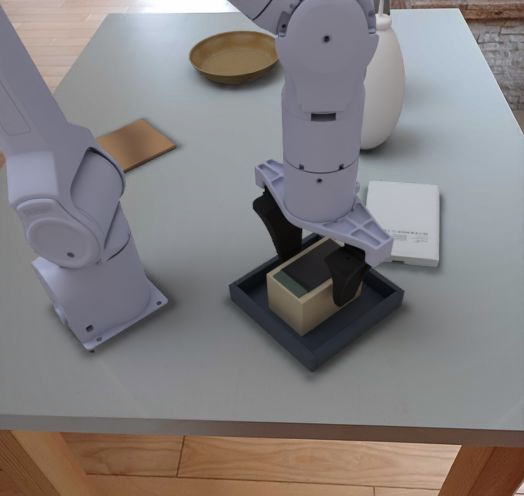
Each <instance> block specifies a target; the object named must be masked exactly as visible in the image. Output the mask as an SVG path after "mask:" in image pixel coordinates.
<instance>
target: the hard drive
mask: <svg viewBox="0 0 524 496" xmlns="http://www.w3.org/2000/svg"><path fill="white" fill-rule="evenodd" d="M440 204H441V203H440V186H439V185H436V184H426V183H415V182H414V183H412V182H401V181H387V180H386V181H385V180H369V181H368V187H367V194H366V201H365V207H366V208H367V209H368V210H369V212H370V213H371V214H372V216H373V217H374V218H375V220H376V221H377V222H378V224H379V225H380V226H381V227H382V228H383V229H384V230H385V231H386V232H387V233H388V234H390V235H391V236H393V237H394V242H393V247H392V252H391V256H390V257H388V258H387V259H386V260H384V261H383V262H382V263H397V264H404V265H412V266H423V267H432V268H438V266H439V263H440V206H441V205H440Z"/></svg>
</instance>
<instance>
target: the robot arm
mask: <svg viewBox="0 0 524 496" xmlns="http://www.w3.org/2000/svg"><path fill="white" fill-rule="evenodd" d="M226 1H227V2H228V3H230V4H231V5H232V6H233V7H235V8H236V9H237V10H238V11H239V12H240V13H241V14H242V15H244V16H245V17H246V18H247V19H248V20H250V21H251V23H253V24H254V25H255V26H257V27H258V28H260V29H262V30H265V31H267V32H269V33H271V34H272V35H273V36H274V37H275V38H276V39H275V48H276V52H277V55H278V58H279V60H278V62H279V63H280V65H281V66H282V68H283V69H284V83H283V86H282V89H281V93H280V94H281V97H280V98H281V130H282V131H281V132H282V133H281V134H282V162H280V161H278V160H276V159H275V158H274V157H269V158H267V159H265V160H264V161H261V162H260V163H259V164H257V165H254V166H253V167H254V179H255V181H254V182H255V185H256V186H257V187H258V188H260V189H262V190H264V191H262V194H261V195H259V196H257V197H256V198H255V199H254V200H253V201H252V203H251V204H252V210H253V211H254V212H255V214H257V217H259V219H260V220H261V221H262V223H263V225H264V226H265V228H266V230H267V232H268V234H269V236H270V239H271V241H272V243H273V246H274V249H275V252H276V255H278V257H279V259H280V261H281V262H282V263H285V262H286V261H288V260H290V259H291V258H293V257H294V256H296V255H298V254H299V253H300V251H301V246H302V239H303V230H306V231H309V232H311V233H313V232H314V233H317V234H320V235H323V236H326V237H329V238H332V239H335V240H337V241H338V242H340V243H343V245H344V246H343V247H342V246H341V247H340V248H338V249H337V250H335V251H334V252H332V253H331V254H329V255H328V256H326V257H325V258H324V261H325V263H326V264H327V266H328V268H329V270H330V273H331V276H332V282H333V301H334V304H335V305H336V306H338V307H342V306H343V305H345V304H346V303H347V302H349V301H350V300H352V299H353V298H354V297H355V295H356V292H357V290H358V288H359V286H360V284H361V282H362V280H363V279H364V277H365V276H366V274H367V273H368V271H369V270H370V269H371V267H372V268H375V267H377V266H378V265H380V264H382V263H384V262H383V261H384V260H386V259H387V258H388V257H390V256H391V252H392V247H393V242H394V237H393V236H391V235H390V234H388V233H387V232H386V231H385V230H384V229H383V228H382V227H381V226H380V225H379V224H378V222H377V221H376V220H375V218H374V217H373V216H372V214H371V213H370V212H369V210H368V209H367V208H366V204H364V202H363V201H362V200H361V199H360V197H359V196H358V195H357V194H358V193H360V191H361V190H360V189H361V183H360V181H358V179H357V178H358V170H359V160H360V151H361V149H360V143H361V133H362V123H363V113H364V104H365V95H366V93H365V87H364V84H363V83H364V80H365V77H366V73H367V66H368V65H369V63H370V62H371V60H372V58H373V56H374V54H375V52H376V49H377V46H378V42H379V35H378V34H377V33H376V14H375V8H374V2H373V0H226ZM0 152H1V153H2V155H3V156H4V158H5V163H6V180H7V199H8V204H9V206H10V207H11V208H12V210H13V211H14V212H15V214H16V215H17V217H18V219H19V221H20V223H21V227H22V233H23V236H24V239H25V241H26V242H27V244H28V245H29V247H30V248H31V249H32V250H33V251H34V252H35V253H36V254H37V255H39V256H38V257H36V258H35V259H34V260H32V261H31V262H30V266H31V268H32V270H33V272H34V274H35V276H36V278H37V279H38V281H39V283H40V284H41V286H42V288H43V289H44V291H45V293H46V295H47V296H48V298H49V300H50V302H51V303H52V306H53V308H54V312H55V314H56V315H57V317H58V318H59V320H60V321H61V322H62V324H63V325H64V326H68V328H69V329H70V331H71V332H72V333H73V334H74V335H75V336H76V338H77V339H78V340H79V342H80V343H81V344H82V345H83V347H84V348H85V349H86V351H88V352H92V351H95V350H94V349H95V348H97V347H98V346H100V345H101V344H103V343H105V342H107V341H108V340H110V339H111V338H114V337H115V336H116V335H118V334H120V333H122V332H123V331H125V330H126V329H128V328H130V327H131V326H132V325H134V324H136V323H138V322H139V321H141V320H143V319H144V318H146V317H148V316H149V315H151V314H153V313H154V312H156V311H158V310H159V309H162V308H163V307H165V306H166V305H167V304H168V303H169V299H168V298H167V297H166V295H165V294H163V293H162V292H161V291H160V290H159V289H158V287H156V285H154V284H153V282H151V281H150V279H149V278H147V275H146V272H145V269H144V266H143V263H142V259H141V257H140V254H139V251H138V247H137V244H136V242H135V239H134V236H133V233H132V230H131V227H130V224H129V221H128V219H127V217H126V215H125V213H124V210H123V207H122V203H121V201H120V200H121V198H122V196H123V195H124V193H125V191H126V187H127V185H126V184H127V180H126V175H125V172H123V170H122V168H121V166H120V165H119V163H118V162H117V161H116V160H115V159H114V158H113V157H112V156H111V155H110V154H109V153H107V152H106V151H105V150H104V149H103V148H102V147H101V146H100V145H99V144H98V143H97V141H96V138H95V137H94V135H93V133H92V131H91V129H90V128H88V127H87V126H85V125H82V124H81V125H80V124H77V123H73V122H70V121H68V119H67V117H66V116H65V113H64V112H63V110H62V109H61V107H60V105H59V103H58V102H57V100H56V97H54V94H53V93H52V91H51V90H50V87H49V86H48V85H47V83H46V81H45V79H44V78H43V76H42V74H41V72H40V70H39V68H38V67H37V65H36V63H35V62H34V60H33V58H32V57H31V55H30V53H29V51H28V50H27V48H26V46H25V44H24V43H23V42H22V39H21V37H20V36H19V34H18V33H17V30H16V29H15V27H14V25H13V24H12V21H11V20H10V19H9V17H8V15H7V13H6V12H5V9H4V8H3V7H2V5H1V4H0ZM158 303H160V304H158ZM98 339H101V340H98Z"/></svg>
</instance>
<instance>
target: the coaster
mask: <svg viewBox="0 0 524 496" xmlns="http://www.w3.org/2000/svg"><path fill="white" fill-rule="evenodd" d="M95 140H96V141H97V143H98V144H99V145H100V146H101V147H102V148H103V149H104V150H105V151H106V152H107V153H109V154H110V155H111V156H112V157H113V158H114V159H115V160H116V161H117V162H118V163H119V165H120V166H121V168H122V170H123V172H124V173H126V172H128V171H131V170H133V169H135V168H136V167H139V166H141V165H143V164H145V163H147V162H148V161H151V160H153V159H155V158H158V157H159V156H161V155H163V154H165V153H168V152H169V151H171V150H173V149H175V148H177V144H175V143H174V142H173V141H171V140H170V139H169V138H167V137H166V136H165V135H163V134H162V133H160V132H159V131H158V130H156V129H155V128H154V127H153V126H151V125H150V124H148V123H147V122H146V121H145V120H143V119H141V118H140V119H138V120H136V121H134V122H132V123H129V124H127V125H125V126H123V127H121V128H119V129H117V130H114V131H112V132H110V133H107V134H105V135H103V136H101V137H98V138H95Z"/></svg>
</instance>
